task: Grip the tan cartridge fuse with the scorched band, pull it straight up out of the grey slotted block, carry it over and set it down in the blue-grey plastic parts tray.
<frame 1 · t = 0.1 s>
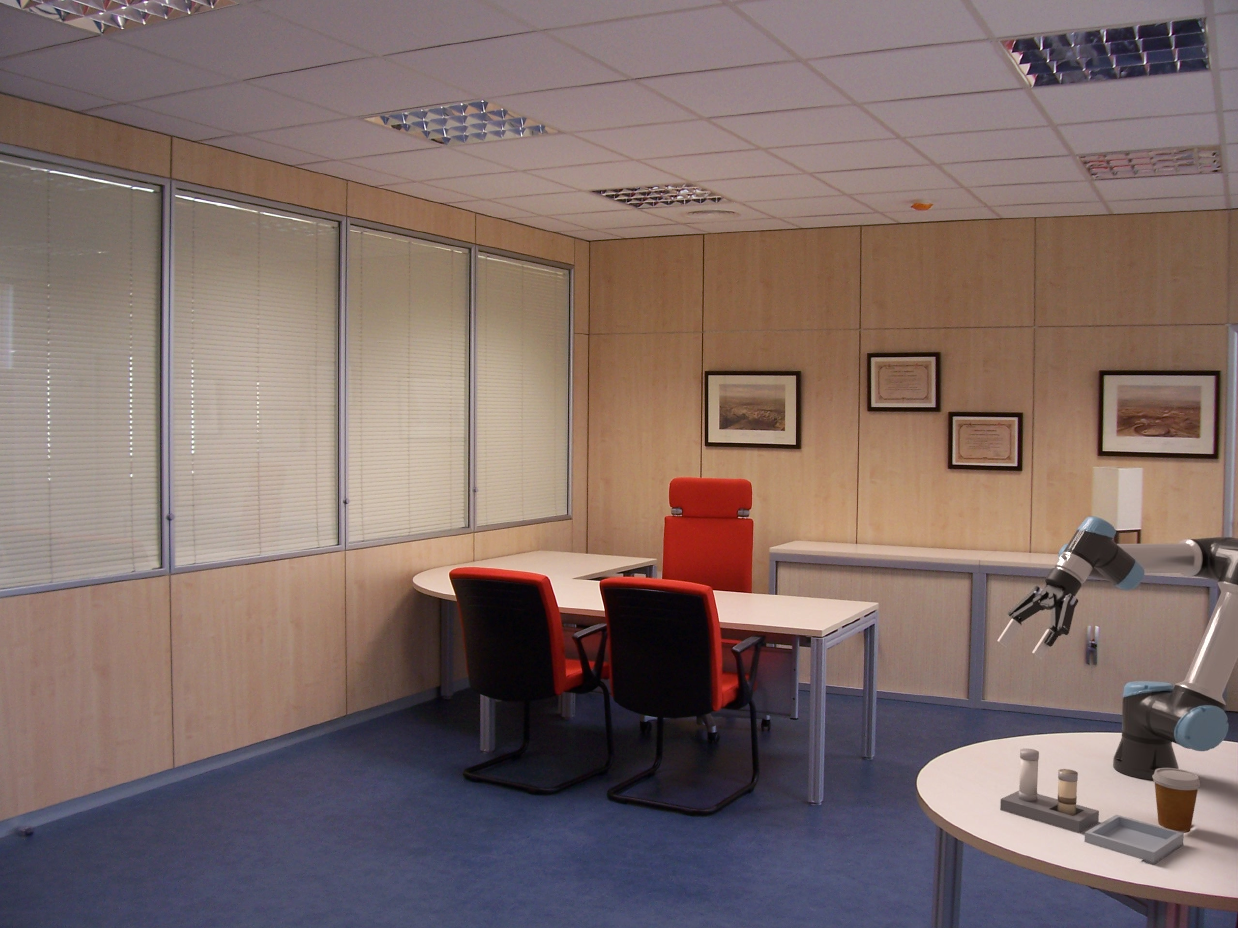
hand: (1018, 650, 251), 36 cm above the table, tool tilted 35°, fingers open, 13 cm apart
disposable coffee cup: (1174, 828, 238), on the table
blown fuse: (1066, 820, 240), resting on grey slotted block
parts tray: (1133, 844, 228), on the table
grey slotted block: (1048, 817, 243), on the table
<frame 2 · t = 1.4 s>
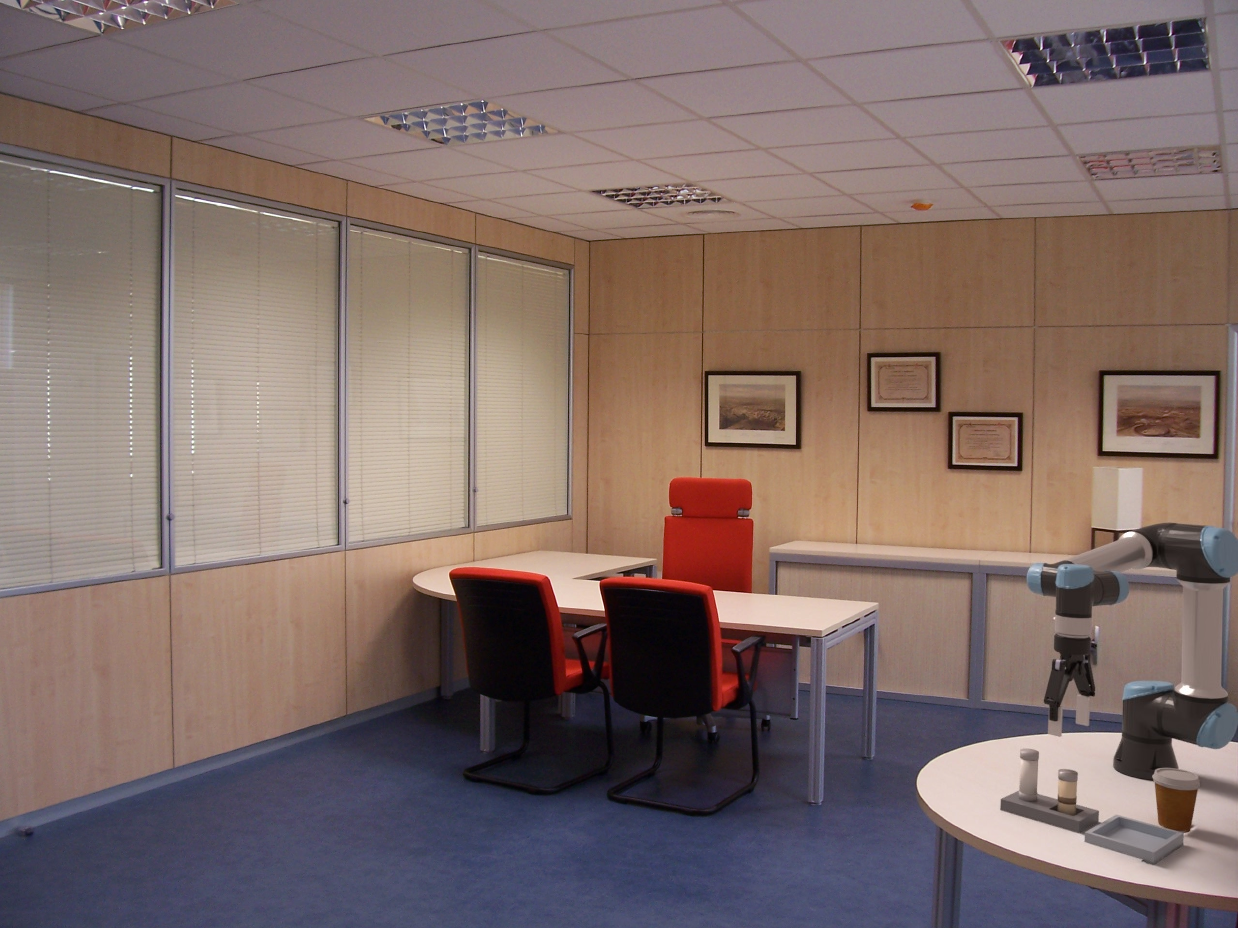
hand: (1068, 729, 239), 21 cm above the table, tool pointing down, fingers open, 13 cm apart
nothing on the table moved.
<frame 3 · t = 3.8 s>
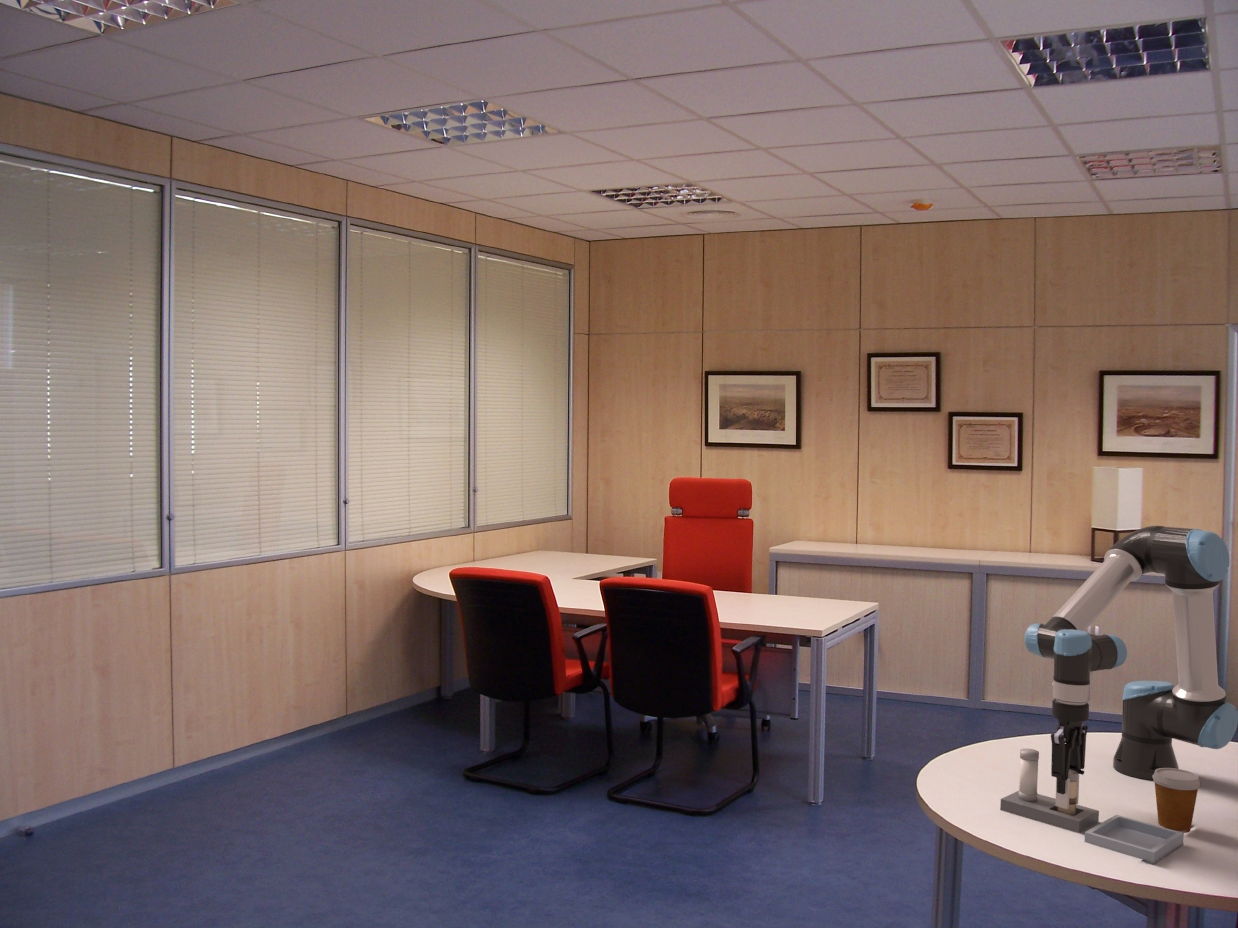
hand: (1066, 804, 240), 4 cm above the table, tool pointing down, fingers closed on blown fuse, 4 cm apart
blown fuse: (1066, 820, 240), resting on grey slotted block, touching gripper
everything else where it was.
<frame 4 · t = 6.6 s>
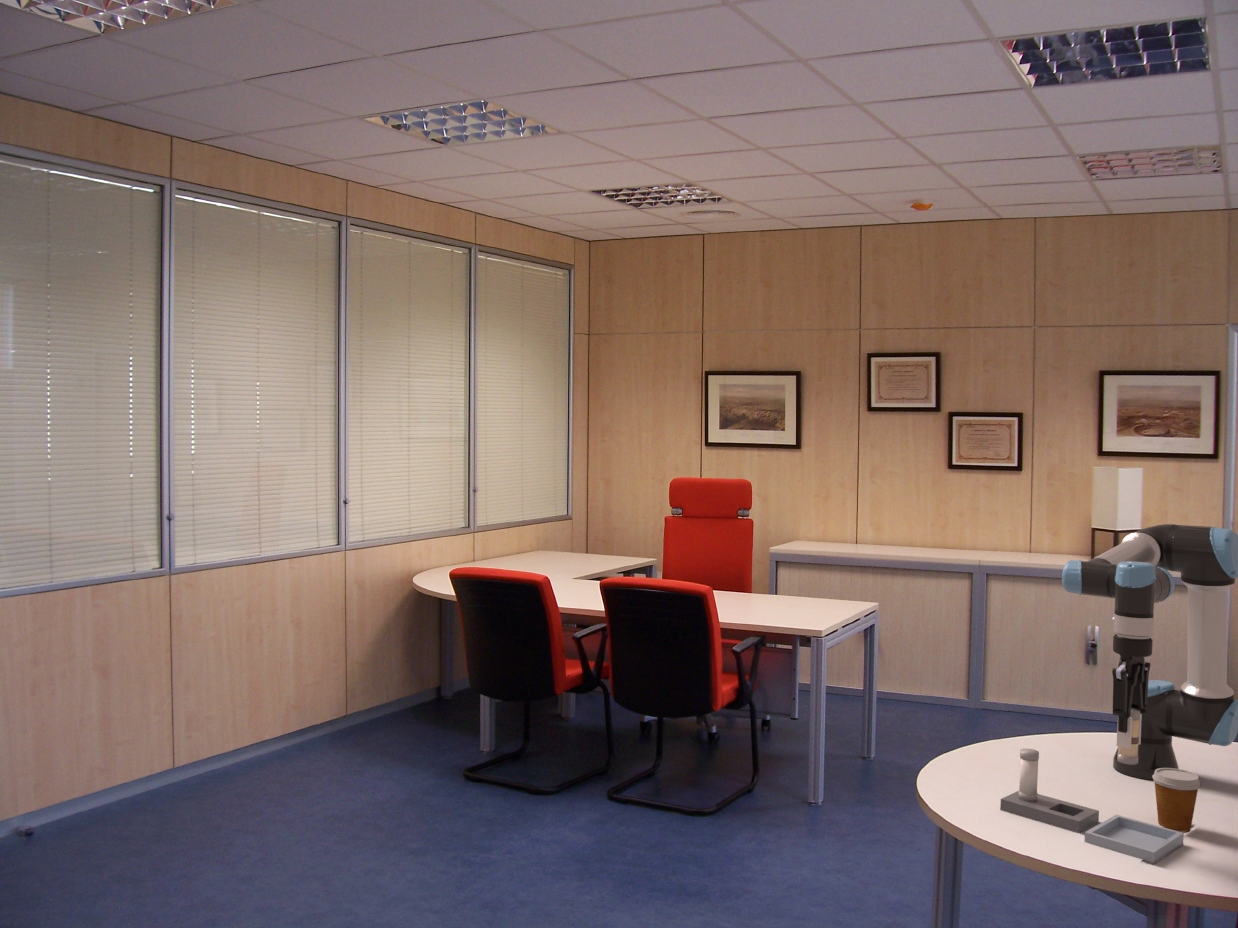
hand: (1128, 744, 229), 21 cm above the table, tool pointing down, fingers closed on blown fuse, 4 cm apart
blown fuse: (1127, 761, 229), point 17 cm above the table, touching gripper
everything else where it was.
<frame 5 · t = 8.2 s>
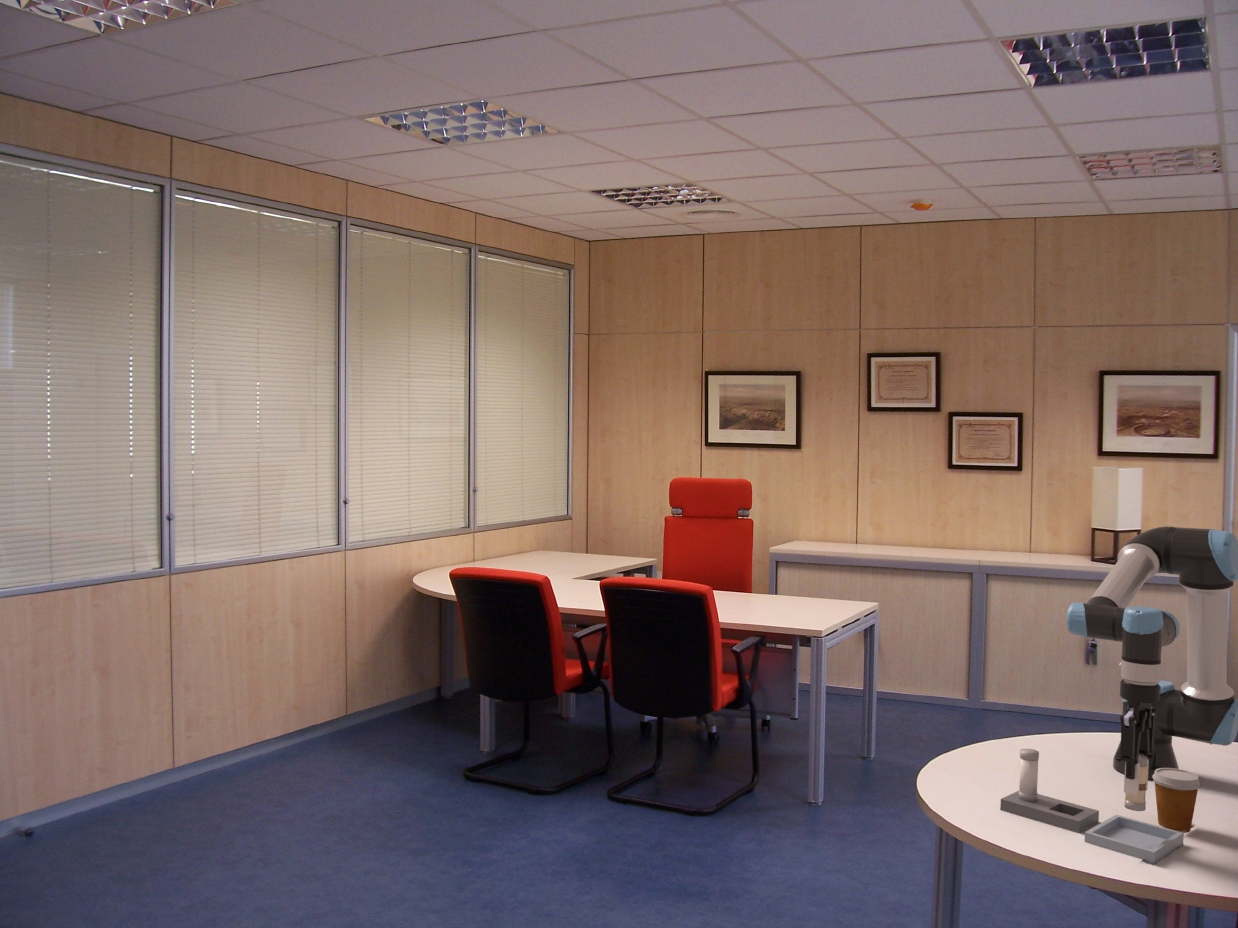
hand: (1135, 790, 228), 11 cm above the table, tool pointing down, fingers closed on blown fuse, 4 cm apart
blown fuse: (1134, 807, 228), point 8 cm above the table, touching gripper
everything else where it was.
when the fingers open (5 cm above the table, at t = 9.5 s): blown fuse stays where it is, resting on parts tray.
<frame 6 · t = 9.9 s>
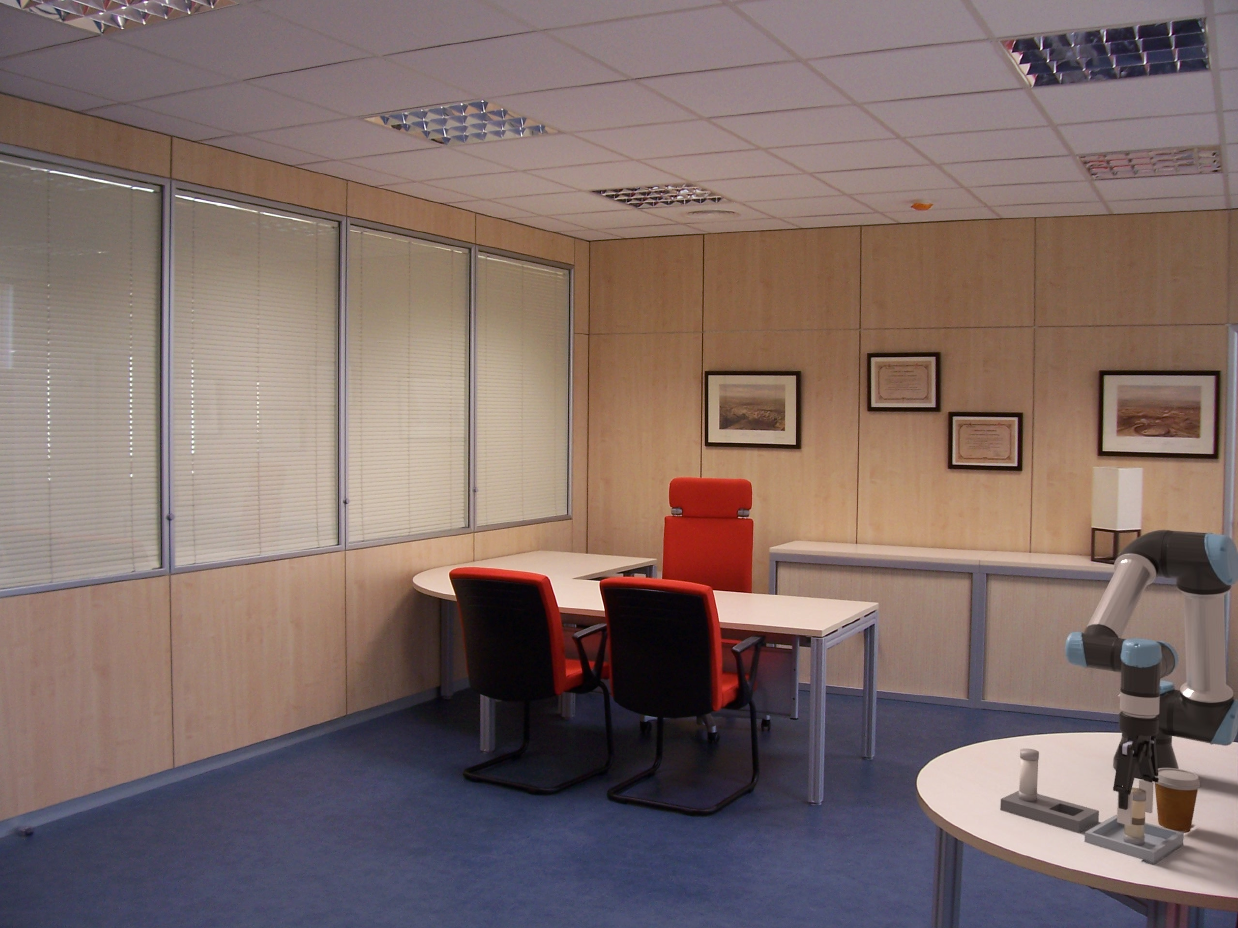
hand: (1134, 817, 228), 6 cm above the table, tool pointing down, fingers open, 10 cm apart
blown fuse: (1133, 841, 228), point 1 cm above the table, touching parts tray
everything else where it was.
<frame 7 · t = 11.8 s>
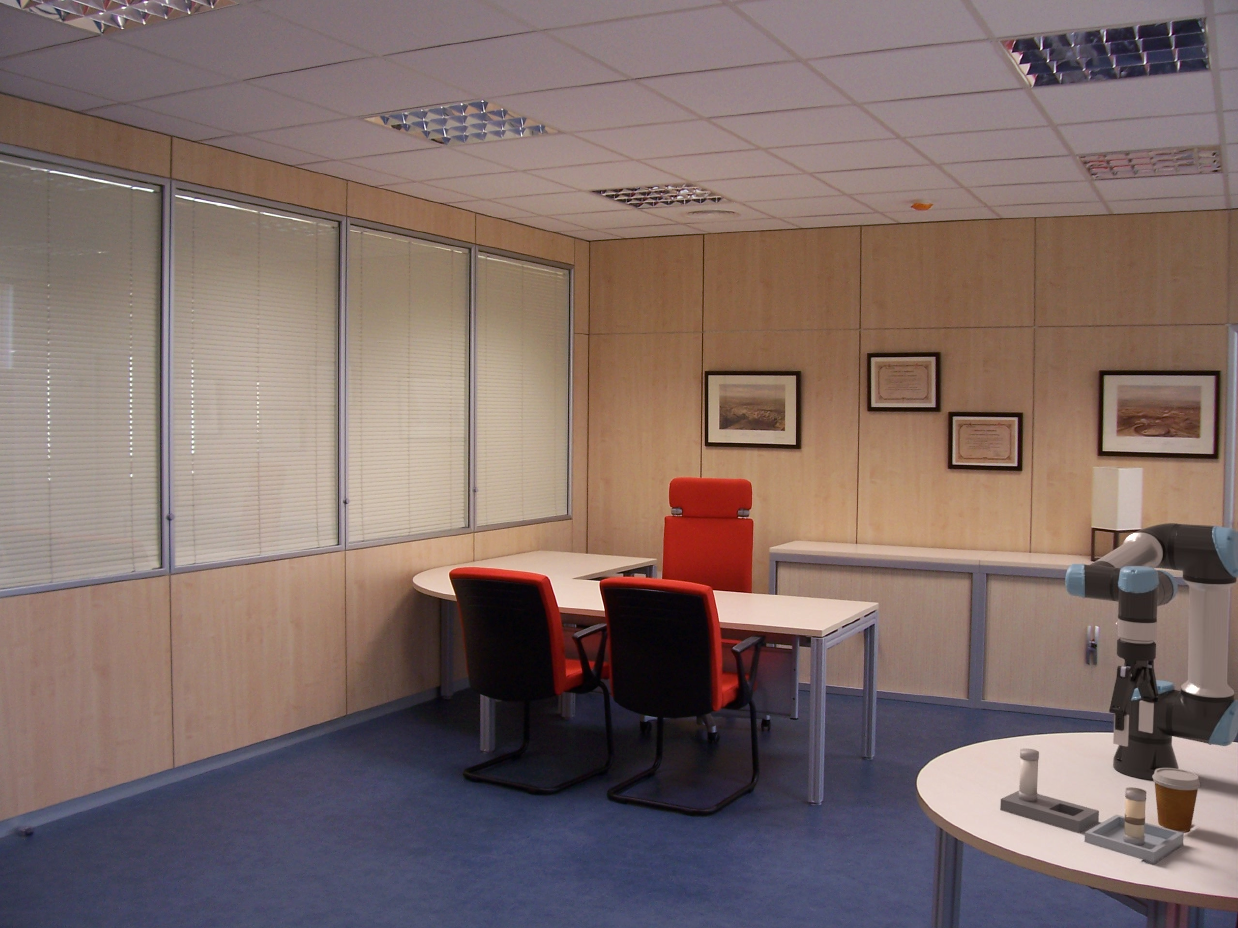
hand: (1133, 738, 230), 22 cm above the table, tool pointing down, fingers open, 13 cm apart
nothing on the table moved.
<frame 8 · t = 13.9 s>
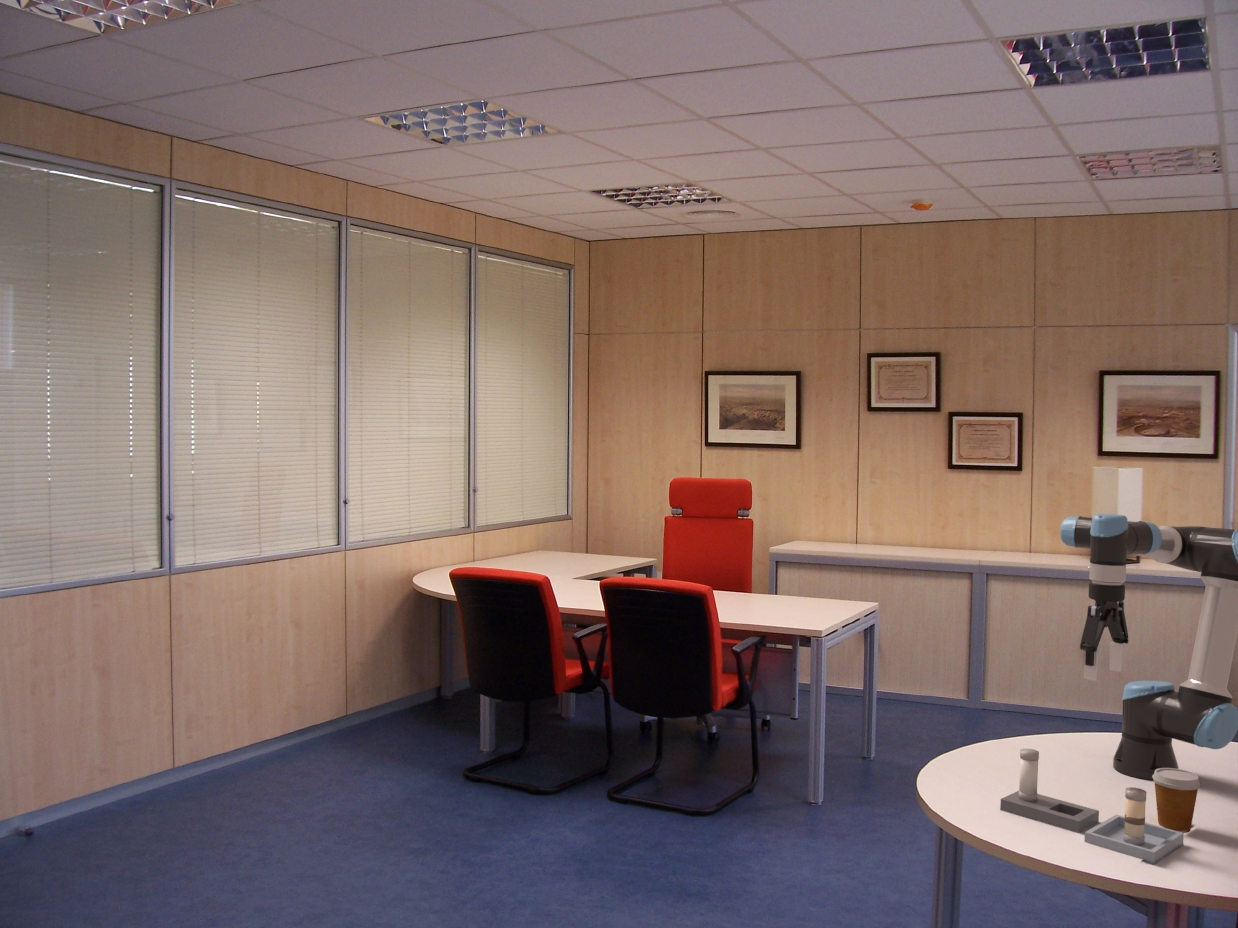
hand: (1103, 675, 245), 32 cm above the table, tool pointing down, fingers open, 13 cm apart
nothing on the table moved.
at the end: blown fuse inside the target area on the parts tray (0.0 cm from its centre), point 0.5 cm above the parts tray's base; the gripper is holding nothing; blown fuse moved 15.0 cm from its start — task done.
